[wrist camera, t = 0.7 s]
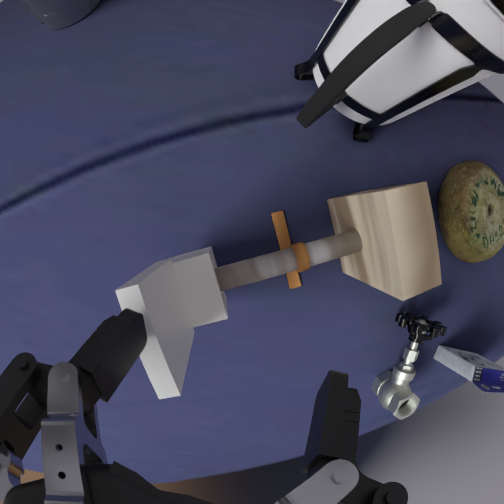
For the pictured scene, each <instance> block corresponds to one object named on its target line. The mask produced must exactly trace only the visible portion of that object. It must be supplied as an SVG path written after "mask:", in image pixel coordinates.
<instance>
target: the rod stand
mask: <svg viewBox="0 0 504 504" xmlns="http://www.w3.org/2000/svg"><path fill="white" fill-rule="evenodd" d="M327 202H328V206H329V211H330V215H331V219H332V223H333V228H334V232H335V235H333V236H330V237H326V238H323V239H319V240H315V241H312V242H308V243H305V244H304V243H303V242H299V243H296V244H292V245H291V241H290V237H289V233H288V229H287V225H286V221H285V217H284V213H283V210H282V211H278V212H274V213H271V215H272V219H273V223H274V227H275V231H276V235H277V239H278V243H279V247H280V250H279V251H276V252H272V253H268V254H265V255H261V256H257V257H254V258H250V259H246V260H243V261H239V262H235V263H232V264H228V265H224V266H221V267H217V268H214V270H215V273H216V277H217V280H218V284H219V287H220V290H221V291H225V290H229V289H232V288H236V287H240V286H243V285H247V284H251V283H254V282H258V281H261V280H265V279H268V278H272V277H276V276H279V275H283V274H286V275H287V279H288V283H289V287H290V289H292V288H295V287H299V286H301V283H300V279H299V275H298V272H302V271H305V270H308V269H310V266H314V265H317V264H320V263H324V262H327V261H331V260H334V259H337V258H340V260H341V265H342V270H343V273H345V274H347V275H349V276H352V277H354V278H356V279H358V280H360V281H362V282H364V283H366V284H368V285H370V286H373V287H375V288H377V289H379V290H381V291H383V292H385V293H387V294H389V295H391V296H393V297H395V298H397V299H399V300H402V301H404V300H407V299H409V298H411V297H414V296H416V295H418V294H421V293H423V292H425V291H428V290H430V289H432V288H434V287H437V286H439V285H441V284H442V282H441V270H440V260H439V252H438V244H437V236H436V230H435V223H434V217H433V212H432V206H431V201H430V196H429V191H428V186H427V182H419V183H412V184H405V185H399V186H392V187H386V188H379V189H373V190H367V191H361V192H356V193H352V194H348V195H343V196H339V197H335V198H331V199H327Z"/></svg>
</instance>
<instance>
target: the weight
mask: <svg viewBox="0 0 504 504" xmlns="http://www.w3.org/2000/svg"><path fill="white" fill-rule="evenodd" d="M438 210H439V213H438V214H439V225H440V230H441V233H442V236H443V238H444V241H445V243H446V245H447V247H448V249H449V250H450V251H451V252H452V254H453V255H454V256H455V257H456V258H458V259H459V260H461V261H464V262H468V263H477V262H480V261H485V260H488V259H490V258H491V257H493V256H494V255H495V254H496V253H497V252H498V251H499V250H500V249H501V248H502V247H503V245H504V186H503V184H502V182H501V180H500V179H499V177H498V176H497V174H496V173H495V172H494V171H493V170H492V169H491V168H490V167H489V166H487V165H486V164H484V163H482V162H479V161H465V162H462V163H458V164H457V165H455V166H454V167H452V168H451V169H450V171H449V172H448V174H447V175H446V178H445V180H444V182H443V184H442V186H441V189H440V192H439V196H438Z"/></svg>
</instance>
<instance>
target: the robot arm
mask: <svg viewBox="0 0 504 504" xmlns="http://www.w3.org/2000/svg"><path fill="white" fill-rule="evenodd" d="M20 1H21V2H22V3H23V4H24V5H25V6H26V7H27V8H28V9H29V11H30V12H31V13H32V14H33V15H34V16H35V17H36V18H37V19H38V20H39V21H40V22H41V23H45V24H46V25H47V26H48V27H50V28H52V29H61V28H65V27H68V26H70V25H73V24H74V23H76V22H78V21H80V20H81V19H83V18H84V17H85V16H87V15H88V14H89V13H90V12H91V11H92V10H93V9H94V8H95V7H96V6H97V5H98V3H99V2H100V0H20ZM146 343H147V333H146V328H145V323H144V317H143V315H142V314H141V313H139V312H136V311H134V310H131V309H128V308H126V309H124V310H123V311H122V312H121V313H120V314H119V315H118V317H117V316H114V315H113V316H112V317H110V318H108V319H106V320H105V321H103V322H102V324H101V325H100V326H99V327H98V328H97V330H96V331H95V332H94V333H93V334H92V335H91V337H90V338H89V339H88V340H87V341H86V342H85V343H84V345H83V346H82V347H81V348H80V349H79V351H78V352H77V353H76V354H75V355H74V357H73V358H72V359H71V360H70V361H69V362H61V363H58V364H56V365H54V366H51V365H47V364H43V363H39V362H37V361H36V359H35V357H34V356H33V355H32V354H30V353H21V354H19V355H17V356H16V357H15V358H14V359H13V360H12V361H11V363H10V364H9V365H8V367H7V368H6V369H5V370H4V372H3V373H2V374H1V376H0V501H1V502H2V503H3V504H213V503H210V502H207V501H204V500H201V499H198V498H195V497H192V496H189V495H184V494H178V493H172V492H166V491H161V490H159V489H157V488H156V487H154V486H153V485H152V484H150V483H149V482H148V481H146V480H145V479H144V478H143V477H141V476H140V475H139V474H138V473H136V472H134V471H132V470H130V469H128V468H126V467H124V466H122V465H121V464H119V463H117V462H115V461H114V462H113V464H108V462H107V457H106V453H105V450H104V448H103V445H102V443H101V438H100V431H99V423H98V414H97V405H96V402H97V401H98V400H99V398H100V399H102V400H103V401H105V402H108V401H109V399H110V398H111V396H112V395H113V393H114V392H115V390H116V389H117V387H118V386H119V384H120V383H121V381H122V380H123V378H124V377H125V376H126V374H127V373H128V371H129V370H130V368H131V367H132V365H133V364H134V362H135V361H136V360H137V358H138V357H139V355H140V354H141V352H142V351H143V349H144V348H145V346H146ZM27 393H28V395H27V396H26V397H25V395H26V394H27ZM24 397H25V399H24V400H23V398H24ZM22 400H23V402H22V403H21V401H22ZM20 403H21V405H20V406H19V404H20ZM18 406H19V408H18V409H17V407H18ZM360 408H361V399H360V397H359V394H358V391H357V389H353V388H348V374H346V373H341V372H337V371H332V370H330V371H329V372H328V374H327V376H326V378H325V380H324V382H323V383H322V385H321V387H320V389H319V391H318V394H317V397H316V401H315V406H314V411H313V416H312V421H311V426H310V431H309V436H308V441H307V446H306V450H305V455H304V459H303V463H302V468H301V472H303V473H307V477H306V481H305V482H304V483H303V484H301V485H300V486H298V487H297V488H296V489H294V490H293V491H292V492H290V493H289V494H287V495H286V496H285V497H283V498H282V499H280V500H279V501H277V502H276V503H274V504H407V501H408V493H407V491H406V489H405V487H404V486H403V485H401V484H400V483H397V482H388V483H385V484H382V483H380V482H378V481H375V480H372V479H370V478H368V477H366V476H365V475H363V474H362V473H361V472H360V470H359V469H358V467H357V464H356V451H357V441H358V432H359V421H360ZM16 409H17V411H16ZM15 411H16V412H15ZM40 429H41V441H42V458H43V470H44V478H43V479H39V480H36V481H31V482H28V483H23V484H21V482H20V478H21V477H22V476H23V475H24V469H23V465H22V462H21V461H22V459H23V457H24V456H25V454H26V452H27V450H28V449H29V447H30V445H31V444H32V442H33V440H34V439H35V437H36V435H37V434H38V432H39V430H40Z"/></svg>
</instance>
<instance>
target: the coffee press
mask: <svg viewBox="0 0 504 504" xmlns="http://www.w3.org/2000/svg"><path fill="white" fill-rule="evenodd" d="M497 73H499V74H504V0H346V1H345V2H344V4H343V5H342V7H341V8H340V10H339V11H338V13H337V15H336V16H335V18H334V20H333V21H332V23H331V24H330V26H329V28H328V29H327V31H326V33H325V34H324V36H323V38H322V39H321V41H320V43H319V45H318V46H317V48H316V50H315V53H314V54H313V56H312V57H311V58H310V60H308V61H306V62H304V63H301V64H298V65H296V66H295V78H296V79H298V80H307V79H312V78H315V81H316V84H317V86H318V89H317V91H316V92H315V93H314V94H313V96H312V97H311V98H310V99H309V101H308V102H307V103H306V105H305V106H304V107H303V109H302V110H301V111H300V113H299V114H298V116H297V118H296V119H297V120H298V121H299V122H300V124H301V125H302V126H303V127H304V128H307V127H308V126H310V125H311V124H312V123H313V122H315V121H316V120H317V119H318V118H320V117H321V116H322V115H323V114H324V113H326V112H327V111H328V110H329V109H331V108H332V107H334V108H335V109H336V110H338V111H339V112H340V113H342V114H343V115H344V116H346V117H348V118H350V119H352V120H354V121H356V124H355V128H354V131H353V139H354V141H359V142H365V143H366V142H368V140H369V138H370V136H371V134H372V132H373V130H374V128H375V127H377V126H378V125H386V124H389V123H392V122H394V121H396V120H398V119H401V118H403V117H405V116H407V115H409V114H411V113H413V112H415V111H417V110H419V109H421V108H423V107H425V106H427V105H429V104H431V103H433V102H435V101H437V100H440V99H442V98H444V97H446V96H448V95H450V94H452V93H454V92H457V91H459V90H461V89H463V88H465V87H467V86H470V85H472V84H474V83H476V82H478V81H481V80H483V79H485V78H487V77H490V76H492V75H494V74H497Z"/></svg>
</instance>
